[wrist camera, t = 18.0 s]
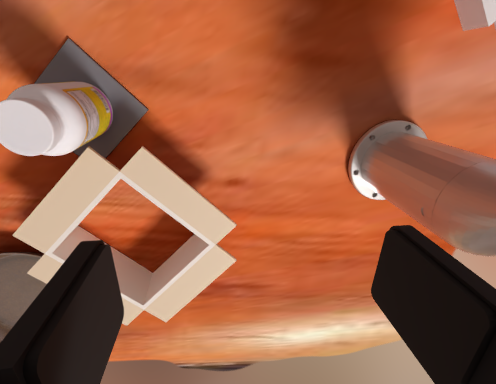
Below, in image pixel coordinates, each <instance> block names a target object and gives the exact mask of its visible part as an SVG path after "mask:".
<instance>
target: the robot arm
mask: <svg viewBox="0 0 496 384" xmlns="http://www.w3.org/2000/svg"><path fill="white" fill-rule="evenodd" d="M348 172H349V178H350V180H351V183H352V185H353V186H354V188H355V189H356V190H357V191H358V192H359V193H361V194H362V195H364V196H365V197H368V198H370V199H375V200H388V201H389V202H391V203H392V204H393V205H395V206H396V207H398V208H399V209H401V210H402V211H403V212H405V213H406V214H408V215H409V216H410V217H412V218H413V219H415V220H416V221H417V222H419V223H420V224H422V225H423V226H424V227H426V228H427V229H429V230H430V231H432V232H433V233H434V234H436V235H437V236H439V237H440V238H441V239H443V240H444V241H446V242H447V243H449V244H450V245H452V246H454V247H455V248H457V249H460V250H462V251H464V252H467V253H471V254H475V255H482V256H496V159H493V158H489V157H486V156H483V155H479V154H476V153H473V152H469V151H466V150H462V149H459V148H456V147H452V146H449V145H445V144H442V143H439V142H435V141H432V140H428V139H427V137H426V135H425V133H424V132H423V130H422V129H421V128H420V127H418V126H417V125H416V124H413V123H411V122H408V121H403V120H390V121H386V122H383V123H380V124H378V125H376V126H374V127H373V128H371V129H370V130H369V131H367V132H366V133H365V134H364V135H363V136H362V137H361V138H360V139H359V140H358V142H357V144H356V145H355V147H354V148H353V151H352V153H351V155H350V159H349V166H348ZM371 293H372V297H373V299H374V300H375V302H376V303H377V305H378V306H379V307H380V309H381V310H382V311H383V313H384V314H385V316H386V317H387V318H388V320H389V321H390V322H391V324H392V325H393V327H394V328H395V329H396V331H397V332H398V334H399V335H400V336H401V338H402V339H403V340H404V342H405V343H406V345H407V346H408V347H409V349H410V350H411V351H412V353H413V354H414V356H415V357H416V358H417V360H418V361H419V363H420V364H421V365H422V367H423V368H424V369H425V371H426V372H427V374H428V375H429V376H430V378H431V379H432V380H433V382H434V383H435V384H496V289H495V288H494V287H492V286H491V285H490V284H488V283H487V282H486V281H484V280H483V279H482V278H480V277H479V276H478V275H476V274H475V273H474V272H472V271H471V270H469V269H468V268H467V267H465V266H464V265H463V264H462V263H460V262H459V261H458V260H456V259H455V258H454V257H452V256H451V255H450V254H448V253H447V252H446V251H444V250H443V249H442V248H440V247H439V246H438V245H436V244H435V243H434V242H432V241H431V240H430V239H428V238H427V237H426V236H424V235H423V234H422V233H420V232H419V231H418V230H416V229H415V228H414V227H412V226H410V225H403V226H393V227H391V228H390V230H389V231H387V232H386V234H385V238H384V242H383V246H382V250H381V253H380V257H379V261H378V265H377V269H376V273H375V276H374V280H373V284H372V288H371ZM123 317H124V306H123V301H122V297H121V292H120V288H119V283H118V278H117V274H116V269H115V264H114V260H113V255H112V251H111V247H110V245H108V244H107V245H105V243H104V242H103V241H102V240H94V241H81V242H80V243H79V244H78V245H77V247H76V248H75V249H74V250H73V252H72V253H71V254H70V255H69V257H68V258H67V259H66V261H65V262H64V263H63V264H62V266H61V267H60V268H59V269H58V271H57V272H56V273H55V274H54V276H53V277H52V278H51V280H50V281H49V282H48V283H47V285H46V286H45V287H44V288H43V290H42V291H41V292H40V293H39V295H38V296H37V297H36V298H35V300H34V301H33V302H32V303H31V305H30V306H29V307H28V308H27V310H26V311H25V312H24V313H23V315H22V316H21V317H20V319H19V320H18V321H17V322H16V324H15V325H14V326H13V327H12V329H11V330H10V331H9V332H8V334H7V335H6V336H5V338H4V339H3V340H2V341H1V343H0V384H100V382H101V379H102V376H103V374H104V371H105V368H106V365H107V363H108V360H109V357H110V354H111V352H112V349H113V346H114V343H115V341H116V338H117V335H118V332H119V329H120V327H121V324H122V321H123Z"/></svg>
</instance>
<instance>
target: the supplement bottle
mask: <svg viewBox="0 0 496 384" xmlns="http://www.w3.org/2000/svg"><path fill="white" fill-rule="evenodd" d="M112 121H113V109H112V106H111V103H110V101H109V99H108V98H107V97H106V95H105V94H104V93H103V92H102V91H101V90H100V89H98V88H97V87H95V86H93V85H91V84H89V83H85V82H60V83H42V84H29V85H25V86H22V87H19V88H18V89H16V90H15V91H13V92H12V93H11V94H10V95H9V97H8V98H7V100H4V101H1V102H0V143H1V144H2V145H3V146H5V147H6V148H7V149H9V150H11V151H12V152H15V153H17V154H20V155H25V156H37V155H40V154H42V155H48V156H60V155H64V154H68V153H70V152H72V151H74V150H76V149H77V148H79V147H81V146H82V145H84V144H86V143H88V142H90V141H91V140H93V139H95V138H97V137H98V136H100V135H102V134H103V133H105V132H106V131H107V130H108V129H109V127H110V126H111V124H112Z"/></svg>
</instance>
